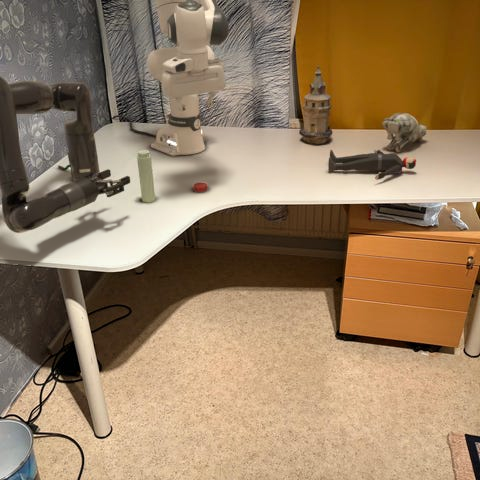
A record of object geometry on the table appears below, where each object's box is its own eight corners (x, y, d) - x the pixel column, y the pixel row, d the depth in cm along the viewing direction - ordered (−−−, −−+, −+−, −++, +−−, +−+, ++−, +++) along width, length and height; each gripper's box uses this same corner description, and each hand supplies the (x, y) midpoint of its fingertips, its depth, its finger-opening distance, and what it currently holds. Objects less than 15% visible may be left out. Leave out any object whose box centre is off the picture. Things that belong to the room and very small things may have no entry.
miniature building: (320, 132, 228) (325, 59, 214) (338, 142, 217) (344, 66, 203) (293, 137, 224) (296, 63, 209) (310, 147, 213) (314, 69, 198)
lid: (205, 185, 182) (205, 181, 181) (209, 191, 178) (209, 186, 177) (191, 187, 180) (191, 183, 180) (195, 193, 176) (195, 188, 176)
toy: (331, 141, 202) (414, 142, 196) (330, 157, 205) (412, 158, 199) (326, 167, 180) (420, 168, 174) (326, 184, 183) (418, 186, 177)
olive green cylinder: (142, 203, 170) (137, 154, 162) (141, 197, 174) (135, 150, 166) (156, 201, 171) (151, 153, 163) (154, 196, 175) (149, 148, 167)
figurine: (412, 164, 205) (438, 136, 214) (399, 121, 196) (426, 94, 205) (390, 163, 212) (416, 137, 221) (377, 122, 203) (404, 96, 212)
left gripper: (90, 188, 143) (134, 169, 154) (56, 176, 150) (101, 158, 161) (94, 213, 147) (137, 192, 158) (61, 200, 154) (105, 181, 165)
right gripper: (218, 56, 166) (219, 100, 173) (157, 64, 157) (161, 111, 163) (228, 59, 161) (229, 105, 168) (167, 67, 152) (170, 115, 159)
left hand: (119, 175), depth 160 cm, fingers open, 8 cm apart
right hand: (195, 108), depth 166 cm, fingers open, 8 cm apart
